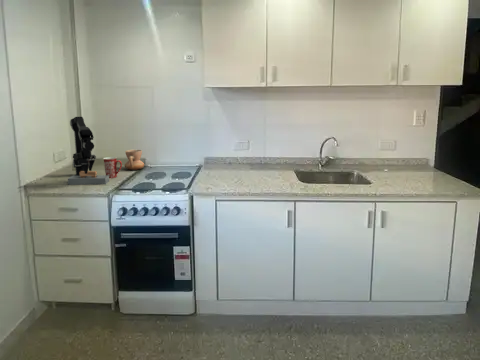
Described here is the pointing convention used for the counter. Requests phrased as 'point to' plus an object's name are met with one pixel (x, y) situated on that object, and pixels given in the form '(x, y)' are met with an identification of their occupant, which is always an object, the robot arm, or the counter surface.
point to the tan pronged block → (88, 174)
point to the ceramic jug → (134, 160)
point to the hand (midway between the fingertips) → (88, 172)
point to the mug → (111, 166)
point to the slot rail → (88, 180)
